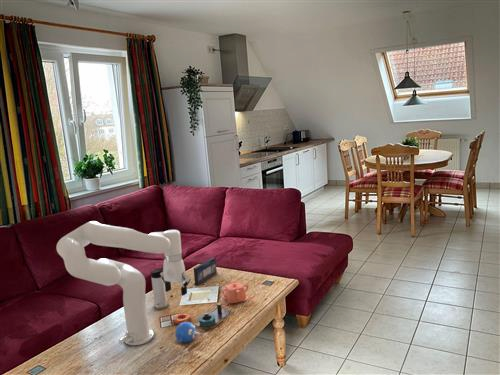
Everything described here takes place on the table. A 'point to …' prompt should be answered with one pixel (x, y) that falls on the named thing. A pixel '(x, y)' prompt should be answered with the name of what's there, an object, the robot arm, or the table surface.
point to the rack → (216, 315)
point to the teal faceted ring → (207, 322)
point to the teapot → (235, 292)
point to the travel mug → (158, 289)
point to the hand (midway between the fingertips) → (176, 292)
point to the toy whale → (186, 332)
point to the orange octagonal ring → (182, 315)
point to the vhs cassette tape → (205, 271)
